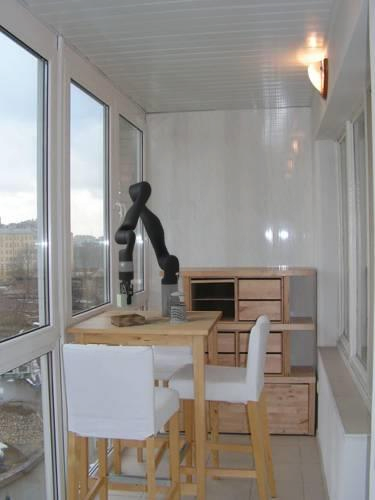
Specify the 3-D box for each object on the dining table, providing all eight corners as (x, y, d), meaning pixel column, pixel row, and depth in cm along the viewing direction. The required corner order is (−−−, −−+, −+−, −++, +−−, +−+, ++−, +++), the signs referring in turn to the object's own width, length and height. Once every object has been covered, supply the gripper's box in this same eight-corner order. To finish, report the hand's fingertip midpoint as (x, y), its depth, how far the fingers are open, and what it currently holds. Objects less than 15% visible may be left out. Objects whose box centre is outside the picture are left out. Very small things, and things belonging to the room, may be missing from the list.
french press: (186, 323, 272) (185, 273, 272) (163, 323, 274) (162, 273, 274) (190, 320, 282) (188, 271, 281) (168, 319, 284) (166, 271, 283)
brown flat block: (135, 321, 282) (135, 313, 282) (145, 324, 271) (144, 316, 271) (111, 323, 276) (110, 315, 276) (119, 327, 265) (119, 318, 265)
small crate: (132, 305, 278) (131, 293, 278) (136, 306, 273) (136, 294, 272) (117, 306, 274) (116, 294, 274) (121, 307, 269) (120, 295, 269)
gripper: (138, 270, 268) (139, 304, 269) (128, 269, 281) (128, 302, 282) (123, 271, 265) (124, 306, 265) (114, 270, 278) (115, 303, 278)
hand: (126, 303), depth 273 cm, fingers closed on small crate, 6 cm apart
